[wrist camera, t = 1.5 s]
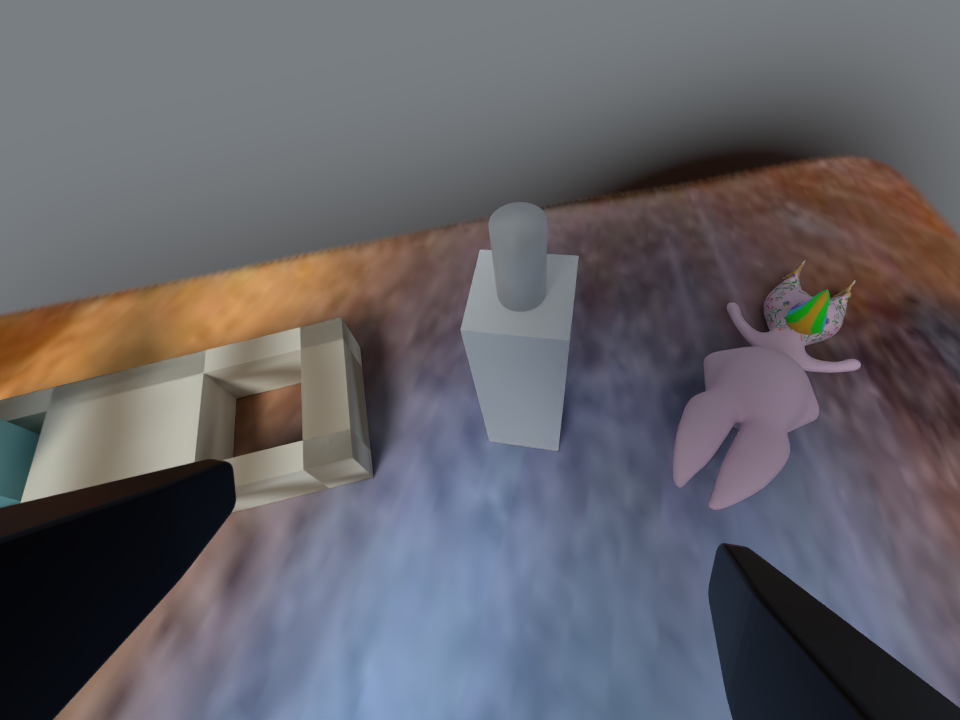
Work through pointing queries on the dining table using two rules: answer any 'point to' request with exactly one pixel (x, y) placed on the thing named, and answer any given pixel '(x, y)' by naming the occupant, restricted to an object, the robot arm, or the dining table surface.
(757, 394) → the pink horned figurine
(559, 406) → the grey plug
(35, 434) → the teal plug
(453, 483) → the dining table surface
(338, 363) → the slot rack
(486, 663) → the dining table surface
